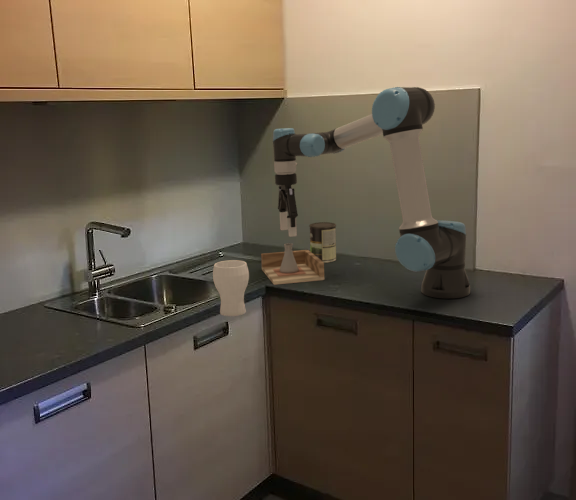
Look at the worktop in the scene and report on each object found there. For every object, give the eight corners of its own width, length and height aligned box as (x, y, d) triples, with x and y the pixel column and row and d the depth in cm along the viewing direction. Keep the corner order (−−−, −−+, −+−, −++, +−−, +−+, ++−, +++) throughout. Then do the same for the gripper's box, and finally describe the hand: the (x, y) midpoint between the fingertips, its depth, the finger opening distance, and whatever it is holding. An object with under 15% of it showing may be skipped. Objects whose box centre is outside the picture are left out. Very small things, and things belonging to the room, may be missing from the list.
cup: (228, 305, 205) (225, 258, 202) (257, 309, 200) (255, 261, 197) (208, 315, 196) (204, 266, 193) (237, 320, 191) (235, 269, 188)
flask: (298, 273, 235) (297, 246, 233) (278, 273, 235) (277, 246, 233) (300, 268, 242) (299, 241, 240) (280, 268, 242) (279, 242, 240)
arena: (324, 279, 231) (324, 262, 229) (273, 284, 227) (273, 267, 225) (308, 265, 252) (307, 249, 250) (261, 269, 248) (261, 253, 246)
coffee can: (309, 262, 256) (308, 227, 253) (311, 256, 266) (310, 222, 263) (335, 262, 254) (334, 226, 251) (337, 256, 264) (336, 222, 261)
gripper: (304, 175, 220) (307, 238, 224) (288, 169, 244) (290, 226, 248) (282, 177, 218) (285, 240, 223) (268, 171, 242) (271, 228, 246)
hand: (288, 233), depth 235 cm, fingers open, 13 cm apart
